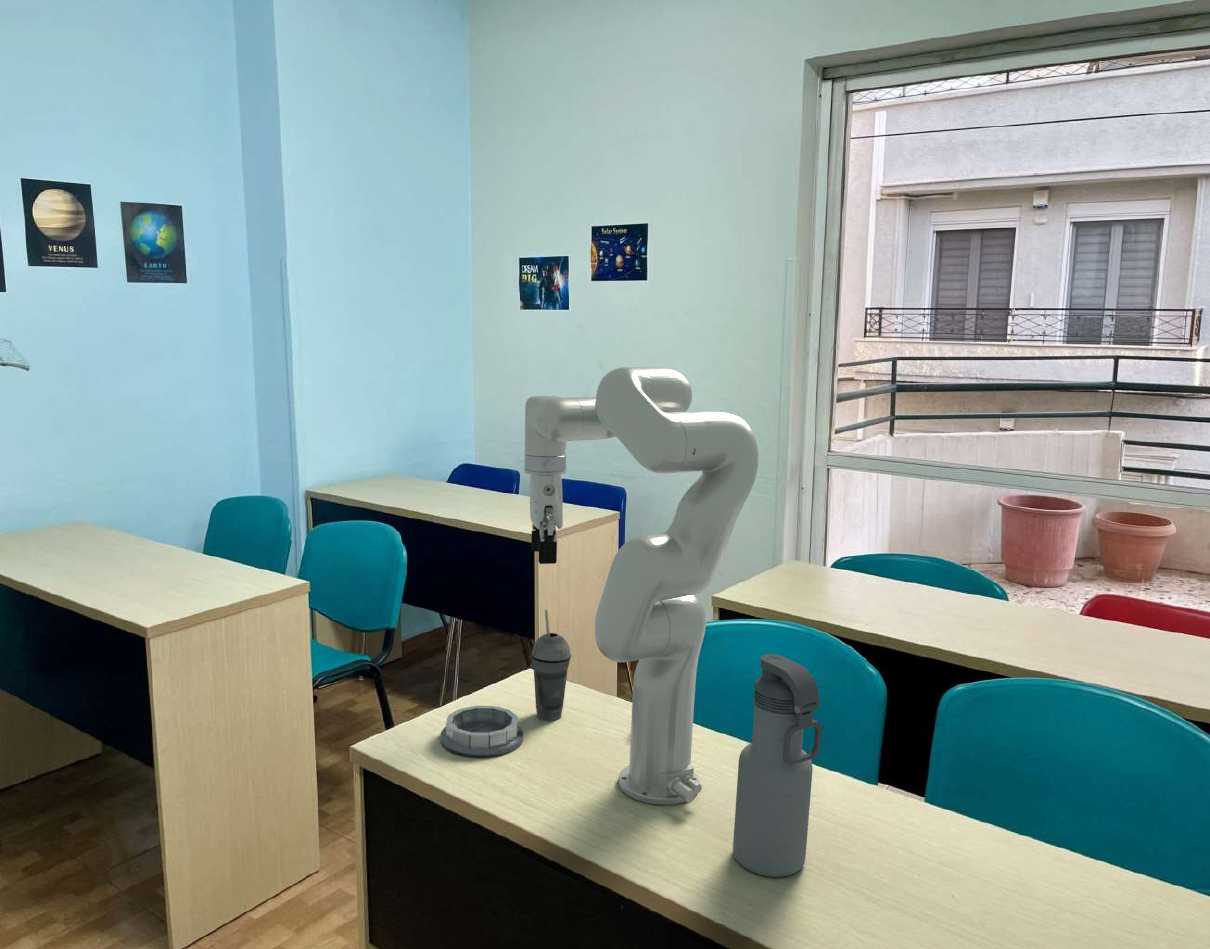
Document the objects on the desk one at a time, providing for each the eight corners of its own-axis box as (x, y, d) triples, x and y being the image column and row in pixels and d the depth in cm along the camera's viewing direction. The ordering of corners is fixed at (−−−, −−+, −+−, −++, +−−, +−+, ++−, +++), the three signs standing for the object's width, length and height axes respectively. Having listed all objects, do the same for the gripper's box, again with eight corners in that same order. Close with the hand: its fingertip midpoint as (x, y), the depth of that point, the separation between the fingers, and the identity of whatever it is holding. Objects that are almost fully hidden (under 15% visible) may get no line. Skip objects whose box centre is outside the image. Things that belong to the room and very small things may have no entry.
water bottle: (822, 868, 125) (839, 669, 121) (768, 889, 120) (783, 683, 116) (770, 832, 134) (784, 645, 129) (717, 851, 128) (730, 657, 124)
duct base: (537, 746, 158) (538, 727, 157) (461, 764, 150) (462, 744, 150) (500, 716, 169) (500, 697, 169) (427, 731, 162) (427, 712, 161)
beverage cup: (563, 726, 166) (567, 618, 163) (524, 721, 168) (527, 614, 164) (573, 710, 173) (576, 606, 170) (535, 705, 175) (538, 602, 172)
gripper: (574, 471, 161) (571, 567, 163) (558, 458, 177) (556, 546, 180) (530, 471, 159) (529, 569, 161) (518, 458, 176) (517, 547, 178)
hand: (543, 557), depth 171 cm, fingers open, 9 cm apart
